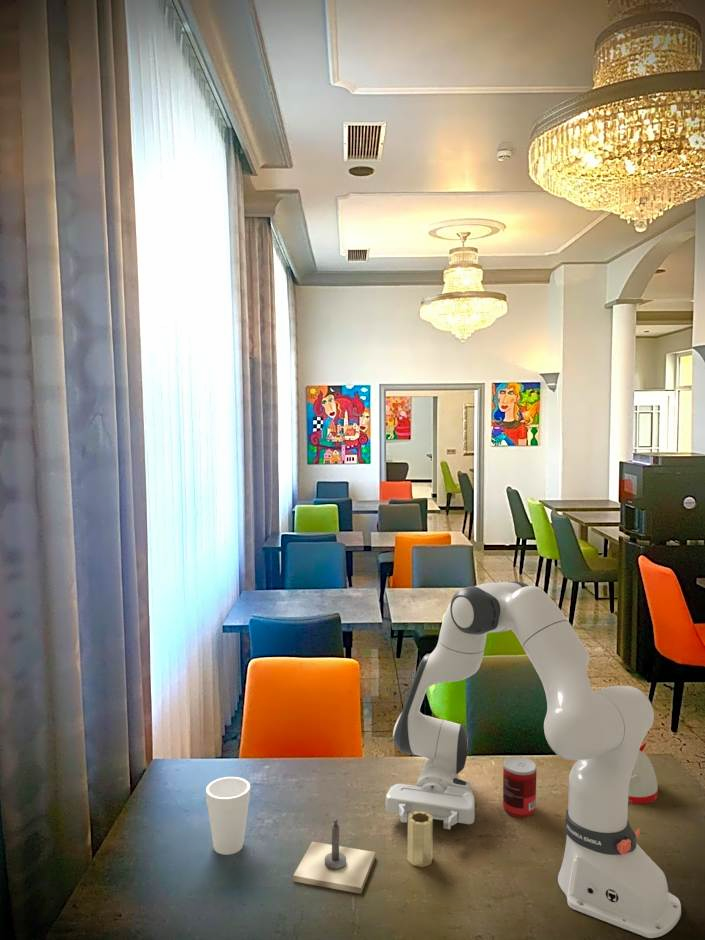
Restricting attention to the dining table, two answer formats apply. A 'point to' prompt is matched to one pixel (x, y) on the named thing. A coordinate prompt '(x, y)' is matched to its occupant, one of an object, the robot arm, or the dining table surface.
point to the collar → (420, 838)
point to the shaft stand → (335, 865)
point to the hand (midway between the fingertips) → (425, 822)
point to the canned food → (519, 787)
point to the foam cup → (228, 813)
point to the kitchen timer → (642, 780)
